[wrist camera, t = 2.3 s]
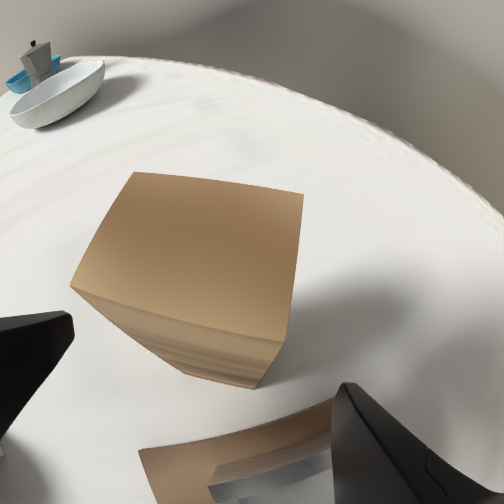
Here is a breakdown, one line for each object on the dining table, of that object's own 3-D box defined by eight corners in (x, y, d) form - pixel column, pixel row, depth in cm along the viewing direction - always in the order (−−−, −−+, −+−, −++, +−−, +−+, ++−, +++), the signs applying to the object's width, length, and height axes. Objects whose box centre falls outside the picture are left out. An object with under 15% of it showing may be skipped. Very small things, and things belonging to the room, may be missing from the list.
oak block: (253, 389, 15) (285, 342, 4) (184, 373, 16) (69, 285, 5) (264, 338, 17) (303, 194, 6) (197, 324, 18) (133, 171, 7)
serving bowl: (9, 139, 34) (-3, 115, 28) (76, 87, 45) (69, 64, 39) (47, 148, 30) (32, 113, 24) (131, 85, 41) (126, 55, 35)
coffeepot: (57, 94, 44) (41, 35, 29) (28, 110, 42) (9, 54, 26) (67, 78, 51) (55, 29, 36) (41, 91, 49) (27, 44, 34)
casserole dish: (71, 67, 61) (67, 51, 55) (19, 99, 50) (13, 83, 44) (45, 69, 71) (42, 57, 65) (6, 95, 61) (2, 83, 55)
